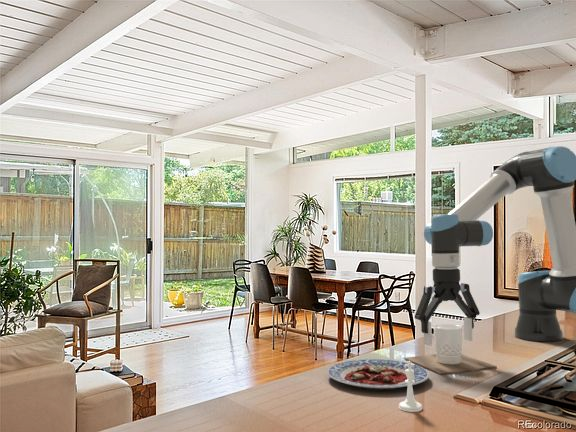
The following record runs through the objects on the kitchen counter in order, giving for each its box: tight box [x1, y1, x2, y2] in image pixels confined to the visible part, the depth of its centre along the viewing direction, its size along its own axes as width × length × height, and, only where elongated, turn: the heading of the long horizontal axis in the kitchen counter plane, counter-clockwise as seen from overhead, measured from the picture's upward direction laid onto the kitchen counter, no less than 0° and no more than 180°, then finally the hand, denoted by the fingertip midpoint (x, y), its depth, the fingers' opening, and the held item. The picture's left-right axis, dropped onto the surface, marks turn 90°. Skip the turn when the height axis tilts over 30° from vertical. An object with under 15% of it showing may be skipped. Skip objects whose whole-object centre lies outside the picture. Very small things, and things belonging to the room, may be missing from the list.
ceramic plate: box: [327, 358, 430, 390], centre depth 133 cm, size 26×26×3 cm
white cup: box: [433, 323, 463, 365], centre depth 147 cm, size 8×8×10 cm
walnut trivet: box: [404, 353, 498, 376], centre depth 147 cm, size 18×18×1 cm
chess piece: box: [398, 361, 423, 413], centre depth 111 cm, size 5×5×10 cm
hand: (448, 342), depth 147 cm, fingers open, 13 cm apart
